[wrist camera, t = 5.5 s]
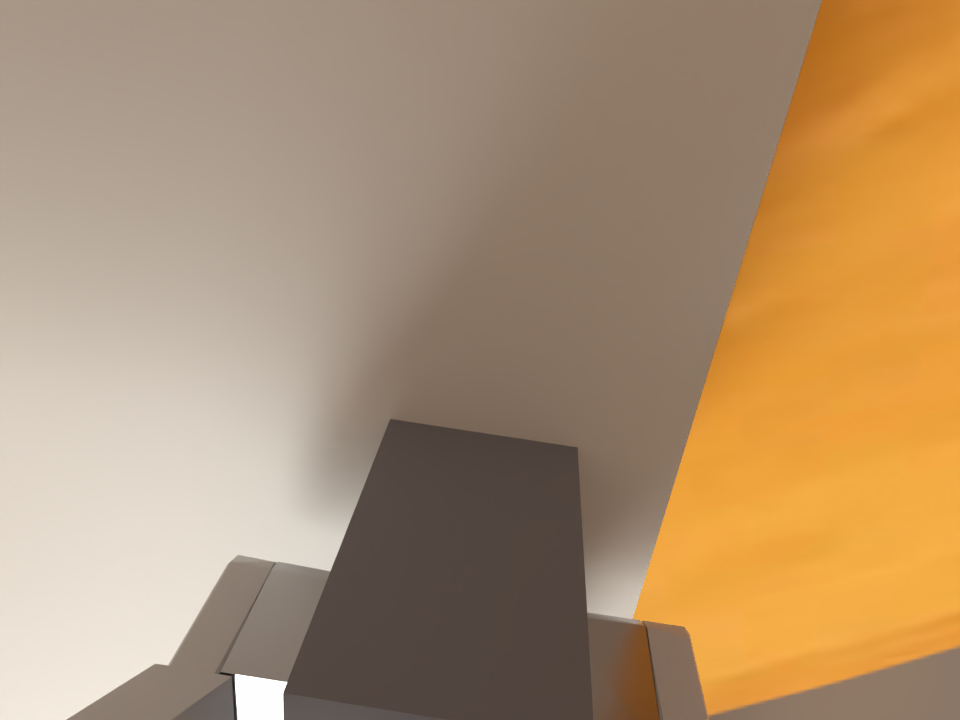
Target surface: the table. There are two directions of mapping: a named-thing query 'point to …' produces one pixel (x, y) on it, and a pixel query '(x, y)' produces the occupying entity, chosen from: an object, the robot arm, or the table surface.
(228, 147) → the lid
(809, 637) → the table surface
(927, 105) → the table surface
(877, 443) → the table surface
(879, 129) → the table surface
